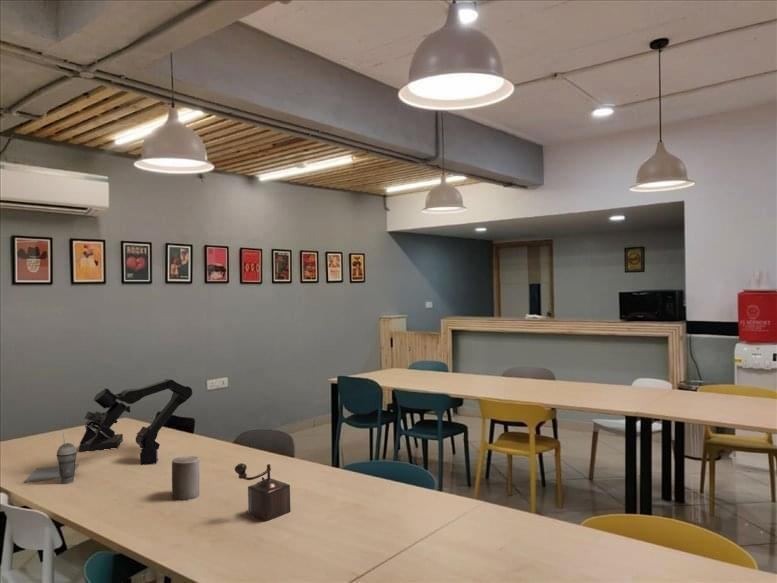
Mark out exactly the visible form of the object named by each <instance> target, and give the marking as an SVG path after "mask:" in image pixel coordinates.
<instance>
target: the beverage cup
mask: <svg viewBox="0 0 777 583" xmlns="http://www.w3.org/2000/svg"><path fill="white" fill-rule="evenodd" d="M62 437H63V444H62V445H60V446H59V447H58V449H57V451H56V459H57V466H59V474H60V478H59V479H60V480H59V481H60V484H62V485H66V484H71V483H73V482H74V480H75V472H76V469H75V464H76V460H77V459H76V458H77V453H78V451H77V447H76V446H75V445H74V444H73V443H69V442H67V443H66V436H65V432H62Z"/></svg>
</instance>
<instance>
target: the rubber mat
mask: <svg viewBox="0 0 777 583" xmlns="http://www.w3.org/2000/svg"><path fill="white" fill-rule="evenodd" d="M78 466H79V463H75V470H76V469H77V468H78ZM58 479H60V474H59V465H54V466H53V465H51V466H44V467H37V468H36V469H35V470H33V472H32V473H30V475H29V476H28V477H27V478H25V480H24V483H31V482H40V481H41V482H42V481H50V480H58Z"/></svg>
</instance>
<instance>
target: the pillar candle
mask: <svg viewBox="0 0 777 583" xmlns="http://www.w3.org/2000/svg"><path fill="white" fill-rule="evenodd" d="M200 460H201V459H200V457H199V456H196V455H183V456H177V457H175V458H173V459H172V460H171V493H172V494H171V499H172V498H173V499H172V500H174V501H176V500H185V501H190V500H189V499H191V500H193V498H194V499H196V498H198V497H199V496H200V491H201V490H200V484H201V483H200V481H201V480H200V477H201V476H200ZM197 496H198V497H197ZM195 497H196V498H195Z"/></svg>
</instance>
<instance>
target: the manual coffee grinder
mask: <svg viewBox="0 0 777 583" xmlns="http://www.w3.org/2000/svg"><path fill="white" fill-rule="evenodd" d="M271 466H272V465H271V464H269V463H268V464H266V470H265V471H263V472H261V473H259V474H257V475H255V476H251V477H249V476H248V474H247V472H246V470H247V468H248V467H247V464H245V463H238V464H236V466H235V467H234V472H235V473H236V474H238V479H241V480H246V481H252V480H257V479H258V478H261V481H258V482H256V483H255V484H252V485H251V484H250V485H248V486H247V502H248V504H247V505H248V508H247V509H248V510H247V511H248V512H247V514H248V515H250V516H251V517H253V518H255V519H257V520H260V521H263V522H268V521H271V520H275V519H277V518H279V517H282V516H284V515H286V514H288V513H291V485H290V484H288V483H286V482H282V481H280V480H276V479H275V478H271V471H272V467H271ZM266 474H267V477H266V478H265V477H263V476H265V475H266ZM247 476H248V477H247Z"/></svg>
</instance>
